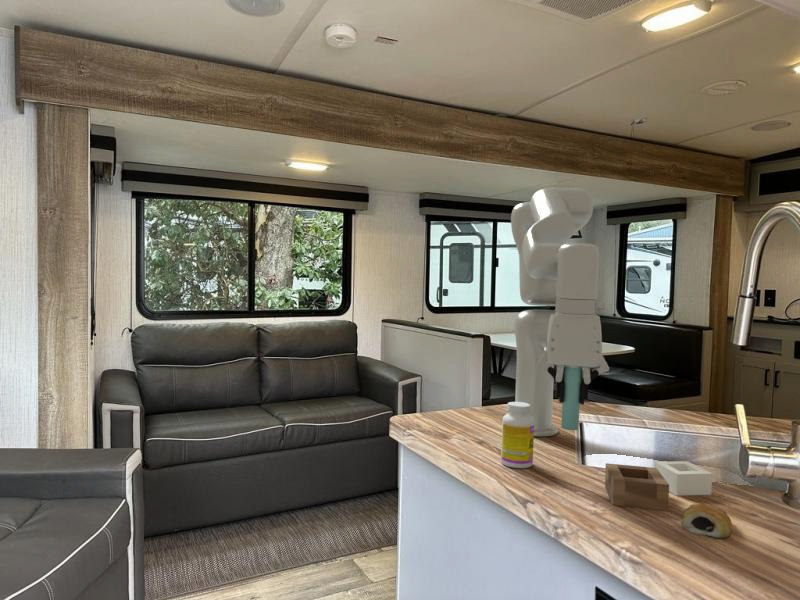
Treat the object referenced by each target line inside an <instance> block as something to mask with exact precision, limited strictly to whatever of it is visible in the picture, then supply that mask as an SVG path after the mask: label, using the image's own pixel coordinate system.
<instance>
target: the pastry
mask: <svg viewBox="0 0 800 600" xmlns="http://www.w3.org/2000/svg"><path fill="white" fill-rule="evenodd" d="M680 524H681V526H682V528H683V529H684V530H685V531H688V532H690V533H692V534H698V535H702V536H706V535H707V537H709V536H711V538H714V537H715V538H714V539H725V538H728V537H729V536H730V534H731V533H732V526H733V523H732V519H731V518H730V516H729V515H728V514H727V512H726V511H725V510H723V509H722V508H719V507H717V506H714V505H712V504H710V503H697V504H695V503H694V504H691V505H689V507H687V508H685V509H684V510H683V512H682V518H681V521H680ZM724 537H725V538H724Z"/></svg>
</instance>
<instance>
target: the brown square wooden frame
mask: <svg viewBox="0 0 800 600" xmlns="http://www.w3.org/2000/svg"><path fill="white" fill-rule="evenodd" d="M604 475H605V476H604V488H605V490H606V493H607V495H608V497H609V500H610V503H611V504H612V506H618V507H619V506H620V507H621V506H622V507H631V508H639V509H647V510H656V511H658V510H659V511H665V512H667V511H669V500H670V499H669V497H670V491H669V484H668V483H667V481H666V480H665V479H664V477H663V476H662V475H661V473H660V472H659V471H658V469H657V468H655V467H650V466H638V465H629V464H628V465H627V464H617V463H605V473H604Z"/></svg>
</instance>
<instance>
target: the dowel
mask: <svg viewBox="0 0 800 600" xmlns="http://www.w3.org/2000/svg"><path fill="white" fill-rule="evenodd" d="M581 379H582V368H580V367H564V370H563V381H564V402H563V403H561V405H562V407H561V409H562V410H561V424H560V425H561V426H560V427H561V428H562V429H564V430H567V431H577V430H579V428H580V427H579V424H580V406H581V404H580V385H581Z"/></svg>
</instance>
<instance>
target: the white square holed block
mask: <svg viewBox="0 0 800 600" xmlns="http://www.w3.org/2000/svg"><path fill="white" fill-rule="evenodd" d="M654 468H657V469H658V471H659V472H660V473H661V475H662V476H663V477H664V479H665V480H666V481H667V483H668V484H669V493H672V494H673V495H675V496H676V497H677V496H678V497H679V496H682V497H683V496H711V495H712V488H713V487H712V483H713V473H712V472H710V471H708V470H706V469H704V468H702V467H700V466H698V465H697V464H693V463H692V462H690V461H689V460H685V461H684V460H683V461H682V460H681V461H680V460H679V461H678V460H677V461H672V460H671V461H654Z"/></svg>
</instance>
